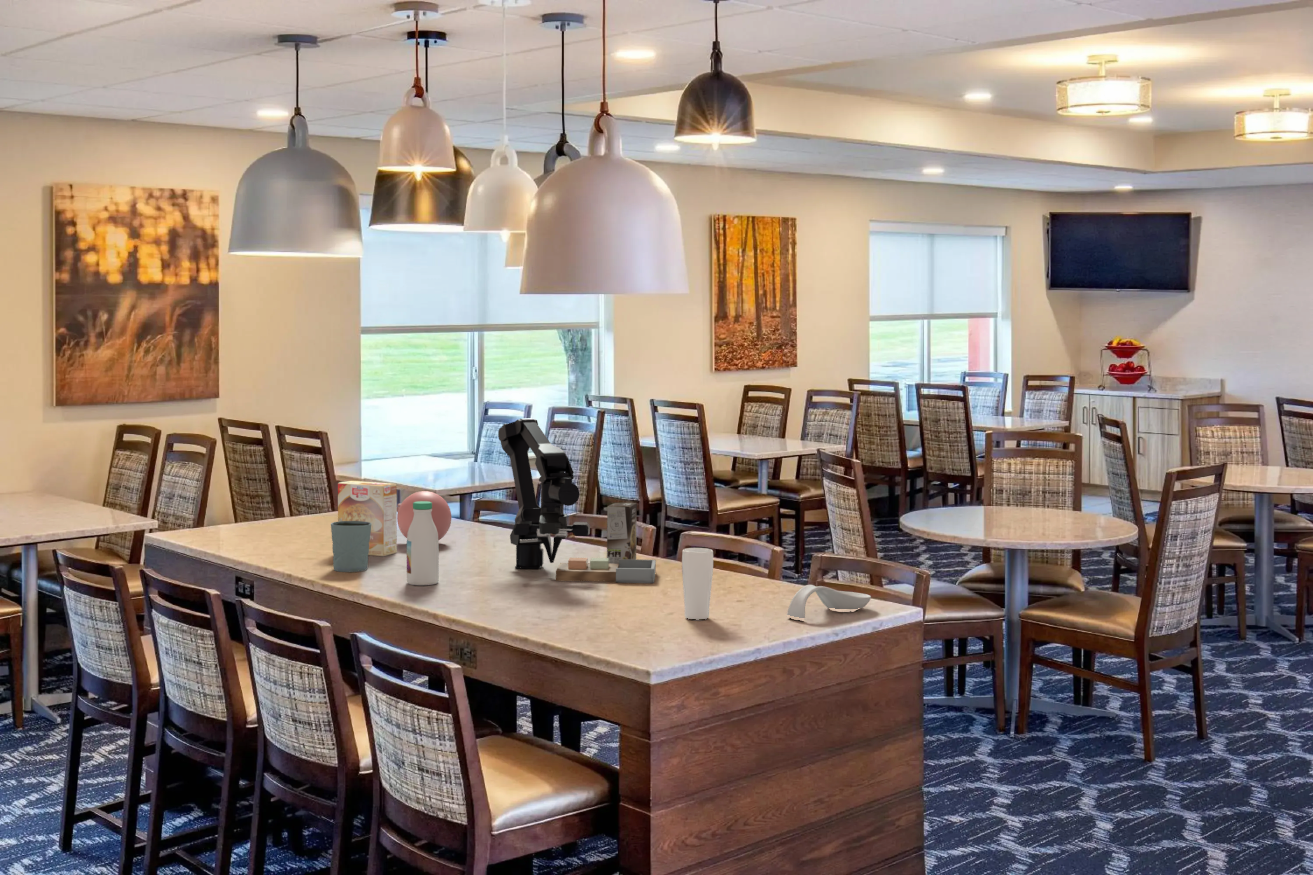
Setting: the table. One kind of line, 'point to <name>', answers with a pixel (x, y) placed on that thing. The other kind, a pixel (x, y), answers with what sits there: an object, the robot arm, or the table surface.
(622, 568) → the tray
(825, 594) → the spoon rest
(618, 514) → the coffee box
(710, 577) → the drinking glass
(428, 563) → the milk bottle
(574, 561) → the terracotta tile
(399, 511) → the balloon
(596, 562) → the sage tile
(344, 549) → the teal cup
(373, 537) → the coffeecake box
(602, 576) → the walnut board
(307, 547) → the table surface
